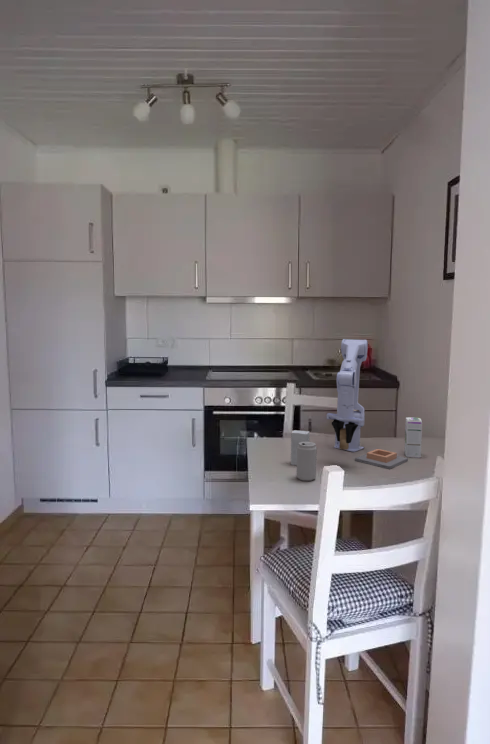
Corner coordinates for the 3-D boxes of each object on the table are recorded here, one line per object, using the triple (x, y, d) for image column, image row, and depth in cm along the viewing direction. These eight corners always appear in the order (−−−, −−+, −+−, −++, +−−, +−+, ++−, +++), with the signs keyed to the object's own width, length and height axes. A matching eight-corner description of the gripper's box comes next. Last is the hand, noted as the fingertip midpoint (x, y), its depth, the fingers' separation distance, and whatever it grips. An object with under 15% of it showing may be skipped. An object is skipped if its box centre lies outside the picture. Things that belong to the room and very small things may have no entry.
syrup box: (421, 458, 195) (423, 420, 193) (405, 457, 196) (407, 419, 194) (419, 453, 200) (421, 417, 198) (403, 452, 202) (405, 416, 200)
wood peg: (337, 448, 184) (338, 429, 183) (342, 446, 186) (343, 427, 185) (345, 450, 182) (346, 430, 181) (350, 448, 184) (350, 429, 183)
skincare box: (309, 463, 187) (310, 431, 185) (306, 466, 183) (307, 434, 181) (293, 461, 189) (293, 429, 187) (290, 464, 185) (290, 432, 183)
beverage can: (294, 475, 173) (295, 441, 171) (313, 475, 174) (314, 440, 172) (298, 482, 167) (299, 446, 165) (317, 481, 167) (318, 445, 166)
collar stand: (355, 460, 190) (355, 452, 190) (374, 453, 201) (374, 445, 200) (389, 469, 181) (390, 460, 181) (407, 460, 191) (408, 453, 191)
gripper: (322, 403, 184) (320, 439, 186) (357, 409, 174) (355, 447, 176) (333, 400, 189) (331, 436, 191) (368, 406, 179) (366, 444, 181)
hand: (344, 441), depth 184 cm, fingers closed on wood peg, 3 cm apart
